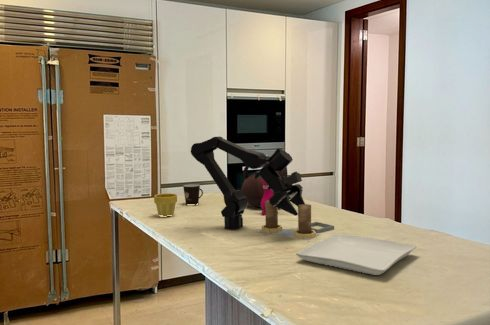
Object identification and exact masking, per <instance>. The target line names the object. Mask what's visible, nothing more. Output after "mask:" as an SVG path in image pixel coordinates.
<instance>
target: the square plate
mask: <svg viewBox="0 0 490 325" xmlns="http://www.w3.org/2000/svg"><path fill="white" fill-rule="evenodd" d="M416 248H417V246H416V245H414V244H408V243H403V242H399V241H398V242H397V241H393V240H387V239H383V238H382V239H381V238H375V237H369V236H361V235H353V234H345V233H335V234H332V235H331V236H330V235H329V236H328V237H326V238H323V239H322V240H319V241H317V242H315V243H313V244H311V245H309V246H306V247H304V248H302V249H300V250H299V251H297V252H296V253H295V254H296V256H298V257H299V258H300V259H302V260H303V261H307V262H309V263H310V262H311V263H315V264H320V265H323V264H324V266H328V265H329V267H332V266H334V267H333V268H337V267H339V268H338V269H342V268H343V269H342V270H347V269H348V271H351V270H353V271H352V272H356V271H357V273H361V272H362V274H368V275H371V276H372V275H374V276H379V275H382V274H383V273H385V272H386V271H388V269H390V268H391V267H392V266H393V265H394V264H396V263H397V262H399V261H400V260H402V259H404V258H405V257H407V256H408V255H409V254H410V253H412V251H413V250H415V249H416Z"/></svg>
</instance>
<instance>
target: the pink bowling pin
mask: <svg viewBox="0 0 490 325" xmlns="http://www.w3.org/2000/svg"><path fill="white" fill-rule="evenodd" d="M262 183H263V184H264V185H263V188H264V195H263V198H262V200H261V207H260V208H261V209H262V210H261V215H263V216H265V201H269V199H270V198H271V197H272V196H273V191H272V189H271V190H269V189H268V187H269V186H268V185H267V184H266V182H265V181H264V180H263V179H262Z"/></svg>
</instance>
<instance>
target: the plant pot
mask: <svg viewBox="0 0 490 325" xmlns="http://www.w3.org/2000/svg"><path fill="white" fill-rule="evenodd" d="M153 202H154V204H155V206H156V209H157V210H156V211H157V214H158V216H159V215H163V216H167V215H173V214H175V209H176V204H177V202H178V194H176V193H171V192H169V193H167V192H166V193H165V192H164V193H157V194H155V195H154V196H153ZM173 216H174V215H173Z"/></svg>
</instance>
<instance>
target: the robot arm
mask: <svg viewBox="0 0 490 325" xmlns="http://www.w3.org/2000/svg"><path fill="white" fill-rule="evenodd" d="M218 149H219V150H221V151H223V152H224V153H227V154H229V155H231V156H233V157H234V158H237V159H239V160H240V161H241V162H242V163H243V164H244V165H245V166H246V165H247V166H248V167H249V168H250V170H256V169H259V170H258V171H255V172H254V173H255V179H258V178H262V179H263V180H264V181H265V182H266V184H267V185H268V186H269V187H268V189H269V190H271V189H272V191H273V192H274V193H275V194H274V195H273V196H272V197H271V198H270V199H269V203H270V204H271V205H272V207H273V206H275V205H276V206H275V207H277V208H278V209H280V210H283V211H285V212H287V213H289V214H291V215H293V216H295V217H296V216H297V217H298V210H296V208H295V207H294V205H295V206H297V207H298V205H300V204H306V203H305V200H304V199H303V197H302V196H303V195H302V194H303V189H304V188H303V186H302V185H301V184H299V183H300V182H302V181H303V179H302V174H301V173H300V172H298V171H293V172H291V175H289V176H287V178H285V177H284V176H282V177H281V176H280V175H279V174H278V173H277V171H283V170H284V169H285V168H286V167H287V168H288V166H289V165H290V164H291V163H292V162H293V157H292V155H291V154H290V153H288V152H287V151H285V150H284V149H282V148H281V147H278V148H276V150H275V151H274V153H272V155H271V156H268V155H266V154H265V153H263V152H260V151H256V150H251V149H248V148H244V147H242V146H240V145H238V144H236V143H234V142H231V141H230V140H228V139H226V138H223V137H222V136H213V137H211V138H210V139H207V140H205V141H202V142H196V143H193V144H192V145H191V147H190V154H191V156H192V157H193V158H194V159H195V160H196V161H197V162H198V163H200V164H202V166H204V168H205V169H206V172H208V174H209V175H210V177H211V178H212V180H213V181H214V182H215V184H216V186H217V187H218V189H219V190H220V192H221V193H222V195H223V201H224V202H223V203H224V204H225V207H223V209H222V210H221V211H220V214H221V216H222V217H223V218H224V220H223V221H224V222H223V223H224V229H225V230H228V231H231V230H233V231H235V230H240V229H241V228H243V227H244V218H243V214H244V213H245V210H246V209H247V207H248V204H249V203H248V202H247V199H246V198H247V197H246V196H245V195H244V193H243V191H242V188H241V189H235V187H234V186H233V185H232V183H231V182H230V180H229V179H228V177H227V175H225V172H224V171H223V170H222V168H221V167H220V165H219V164H218V162H217V160H216V159H215V153H214V151H215V150H218ZM268 163H269V164H268ZM266 164H268V165H267V166H266V167H264V166H265V165H266ZM249 168H248V169H249Z"/></svg>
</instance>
